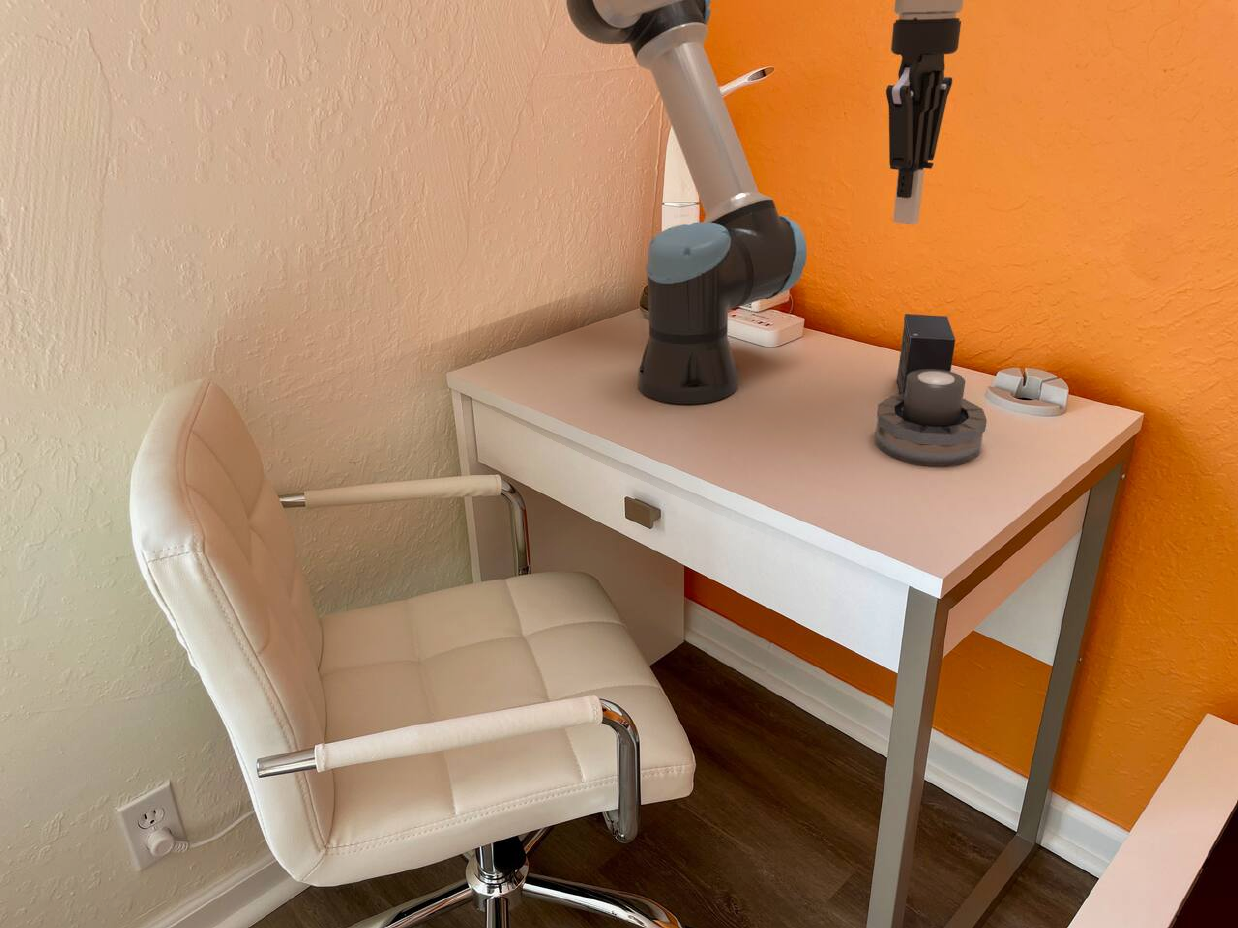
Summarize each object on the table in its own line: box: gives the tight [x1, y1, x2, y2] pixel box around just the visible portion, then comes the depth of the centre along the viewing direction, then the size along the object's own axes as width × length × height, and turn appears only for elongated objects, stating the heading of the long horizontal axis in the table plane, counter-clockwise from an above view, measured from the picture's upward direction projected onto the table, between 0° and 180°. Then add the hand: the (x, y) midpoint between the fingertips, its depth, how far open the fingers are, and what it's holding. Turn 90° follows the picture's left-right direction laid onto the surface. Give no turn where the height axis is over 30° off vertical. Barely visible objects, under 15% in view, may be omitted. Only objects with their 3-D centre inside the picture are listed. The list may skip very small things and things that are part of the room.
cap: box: [902, 369, 966, 427], centre depth 117 cm, size 7×7×6 cm
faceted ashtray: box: [875, 393, 987, 468], centre depth 119 cm, size 13×13×4 cm
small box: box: [896, 313, 956, 395], centre depth 132 cm, size 11×6×10 cm, turn 168°
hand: (905, 222), depth 117 cm, fingers closed
